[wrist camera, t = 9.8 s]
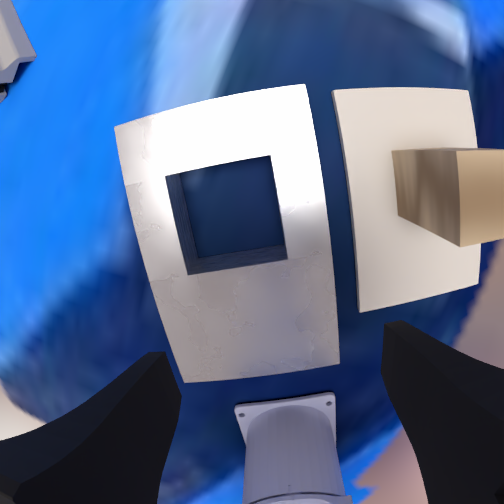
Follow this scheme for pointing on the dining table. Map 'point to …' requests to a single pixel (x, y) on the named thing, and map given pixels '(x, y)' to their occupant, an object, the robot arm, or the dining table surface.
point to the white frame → (243, 262)
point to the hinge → (12, 45)
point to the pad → (384, 191)
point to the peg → (452, 192)
